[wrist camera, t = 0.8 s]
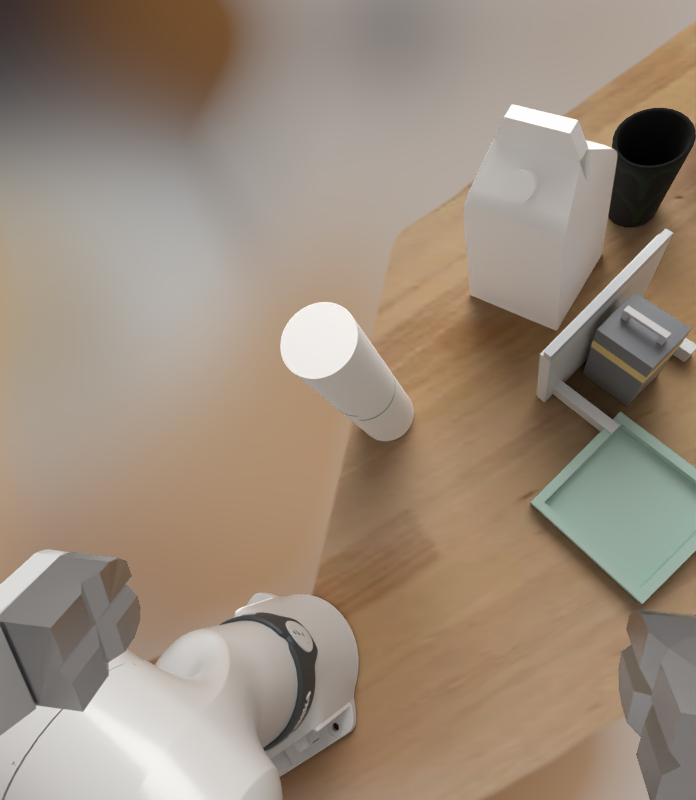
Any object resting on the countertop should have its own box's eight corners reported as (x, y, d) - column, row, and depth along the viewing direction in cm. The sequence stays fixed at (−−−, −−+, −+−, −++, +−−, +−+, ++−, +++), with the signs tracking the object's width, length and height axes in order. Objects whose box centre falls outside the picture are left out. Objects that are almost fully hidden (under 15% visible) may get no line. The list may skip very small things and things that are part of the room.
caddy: (626, 407, 59) (657, 362, 46) (581, 373, 62) (598, 322, 48) (658, 375, 59) (698, 320, 46) (612, 343, 62) (637, 282, 48)
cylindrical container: (369, 383, 70) (294, 297, 47) (420, 394, 67) (367, 308, 44) (354, 434, 68) (269, 370, 46) (405, 447, 66) (343, 386, 43)
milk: (602, 254, 65) (647, 78, 41) (556, 331, 64) (576, 196, 40) (513, 223, 70) (508, 50, 46) (469, 294, 69) (442, 155, 45)
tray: (638, 602, 53) (642, 604, 52) (530, 503, 59) (530, 501, 57) (735, 505, 53) (742, 503, 51) (617, 416, 59) (620, 411, 57)
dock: (599, 447, 59) (623, 411, 45) (536, 396, 62) (540, 349, 49) (700, 345, 59) (755, 278, 45) (630, 300, 62) (661, 226, 48)
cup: (584, 208, 67) (596, 140, 56) (634, 171, 67) (656, 94, 56) (628, 246, 64) (649, 181, 53) (681, 207, 64) (714, 134, 53)
